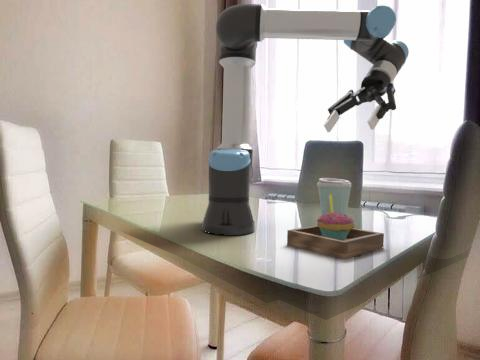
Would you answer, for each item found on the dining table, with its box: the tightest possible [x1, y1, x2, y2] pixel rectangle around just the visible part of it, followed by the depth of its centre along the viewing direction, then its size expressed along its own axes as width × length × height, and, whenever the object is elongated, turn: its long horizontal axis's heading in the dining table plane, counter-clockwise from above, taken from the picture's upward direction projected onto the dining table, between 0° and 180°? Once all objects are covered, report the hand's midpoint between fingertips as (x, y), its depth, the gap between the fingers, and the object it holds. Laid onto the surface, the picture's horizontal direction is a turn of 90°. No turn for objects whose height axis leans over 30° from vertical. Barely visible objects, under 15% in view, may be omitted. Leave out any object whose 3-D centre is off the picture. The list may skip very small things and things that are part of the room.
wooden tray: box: [286, 225, 385, 260], centre depth 85 cm, size 16×16×4 cm
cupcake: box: [316, 194, 355, 241], centre depth 85 cm, size 9×8×12 cm
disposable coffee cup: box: [316, 177, 352, 216], centre depth 113 cm, size 11×11×15 cm
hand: (347, 127), depth 96 cm, fingers open, 13 cm apart
